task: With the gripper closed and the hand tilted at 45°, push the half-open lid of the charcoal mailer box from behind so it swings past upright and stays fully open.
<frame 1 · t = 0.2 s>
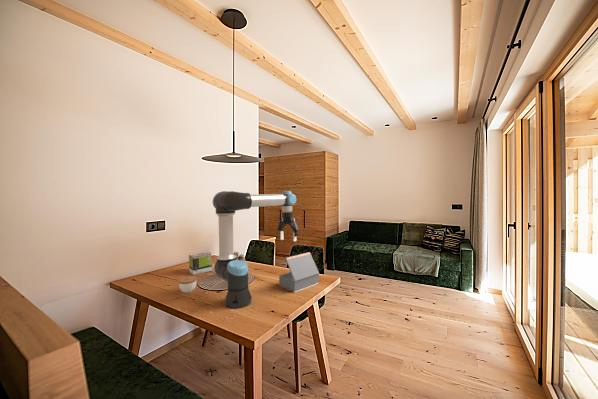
hand: (288, 240, 187), 28 cm above the table, tool pointing down, fingers open, 13 cm apart
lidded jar: (188, 291, 164), on the table
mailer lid: (302, 265, 170), point 14 cm above the table, hinge at 55.0°
owl figurine: (237, 273, 199), on the table
tea box: (200, 271, 204), on the table
mailer box: (299, 284, 173), on the table
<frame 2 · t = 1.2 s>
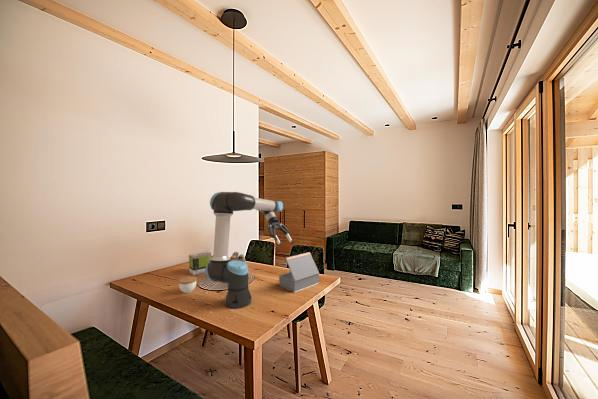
hand: (285, 242, 183), 27 cm above the table, tool tilted 45°, fingers open, 10 cm apart
nothing on the table moved.
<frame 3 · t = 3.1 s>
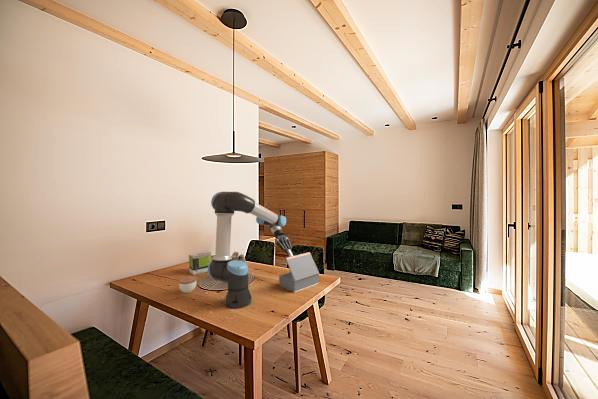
hand: (292, 258, 177), 17 cm above the table, tool tilted 45°, fingers closed
nothing on the table moved.
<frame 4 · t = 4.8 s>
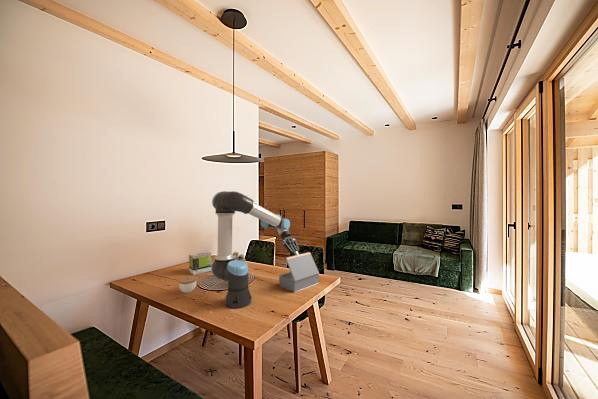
hand: (299, 260, 173), 17 cm above the table, tool tilted 45°, fingers closed
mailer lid: (302, 265, 169), point 14 cm above the table, hinge at 55.4°, touching gripper
everything else where it was.
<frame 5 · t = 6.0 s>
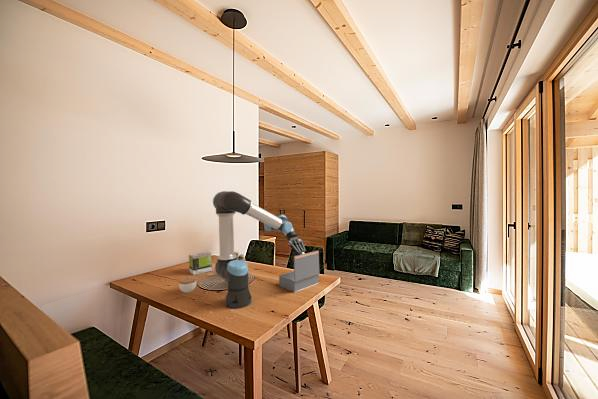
hand: (306, 261, 168), 17 cm above the table, tool tilted 45°, fingers closed
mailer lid: (307, 265, 166), point 15 cm above the table, hinge at 87.9°, touching gripper
everything else where it was.
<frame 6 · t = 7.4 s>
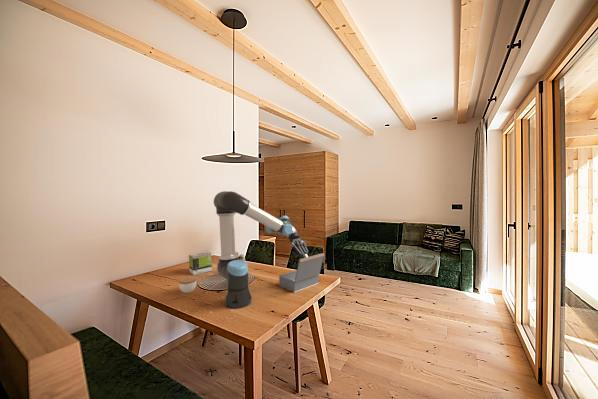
hand: (309, 263, 165), 17 cm above the table, tool tilted 45°, fingers closed
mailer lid: (310, 267, 164), point 15 cm above the table, hinge at 107.8°, touching gripper
everything else where it was.
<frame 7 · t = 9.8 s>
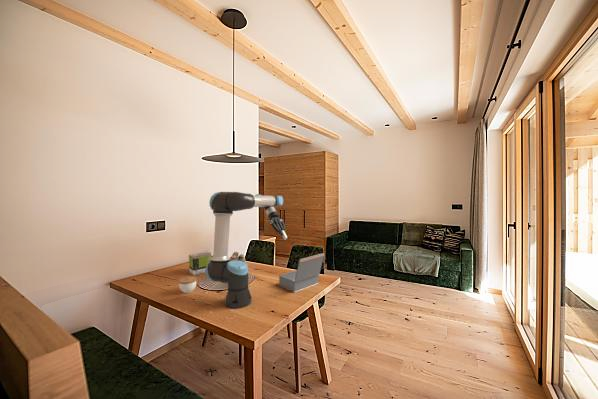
hand: (285, 238, 182), 30 cm above the table, tool tilted 45°, fingers closed
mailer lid: (310, 267, 164), point 15 cm above the table, hinge at 107.9°
everything else where it was.
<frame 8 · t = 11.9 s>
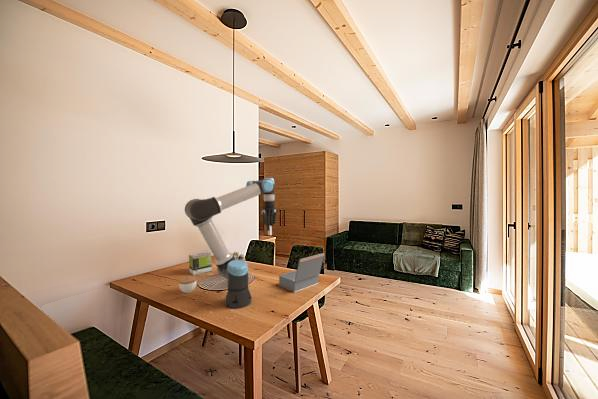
hand: (269, 234, 173), 34 cm above the table, tool pointing down, fingers closed
nothing on the table moved.
at the end: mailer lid at +108° (first picture: +55°) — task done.
